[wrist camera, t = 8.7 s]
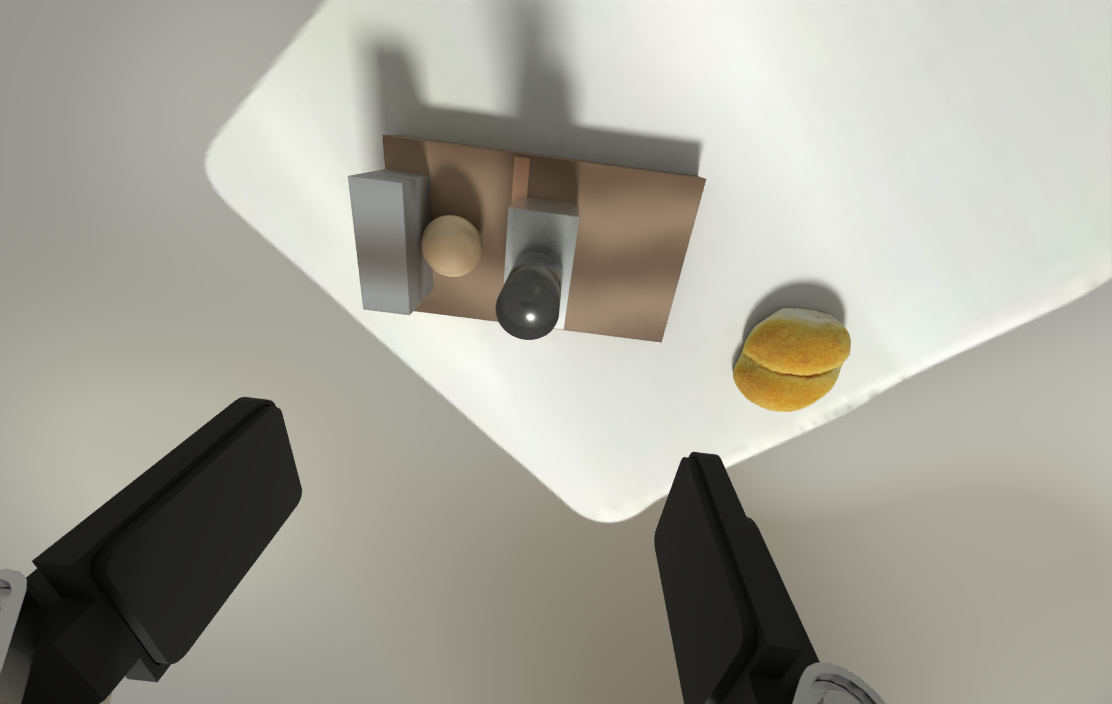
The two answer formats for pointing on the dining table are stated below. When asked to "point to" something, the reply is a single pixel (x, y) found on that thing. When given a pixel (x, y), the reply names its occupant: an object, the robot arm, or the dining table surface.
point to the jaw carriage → (537, 266)
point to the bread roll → (792, 359)
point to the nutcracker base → (481, 230)
